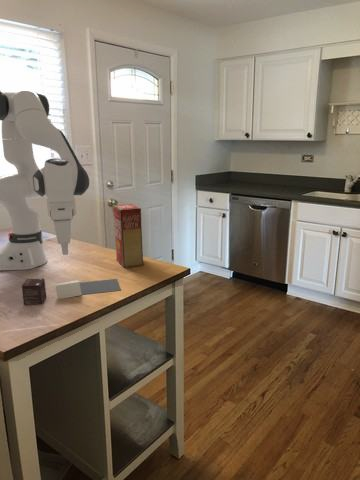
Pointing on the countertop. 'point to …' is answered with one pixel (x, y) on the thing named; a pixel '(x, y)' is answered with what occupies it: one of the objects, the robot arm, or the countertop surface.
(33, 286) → the box
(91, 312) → the countertop surface
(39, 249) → the robot arm
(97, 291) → the mat
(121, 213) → the food packaging
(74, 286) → the tile
